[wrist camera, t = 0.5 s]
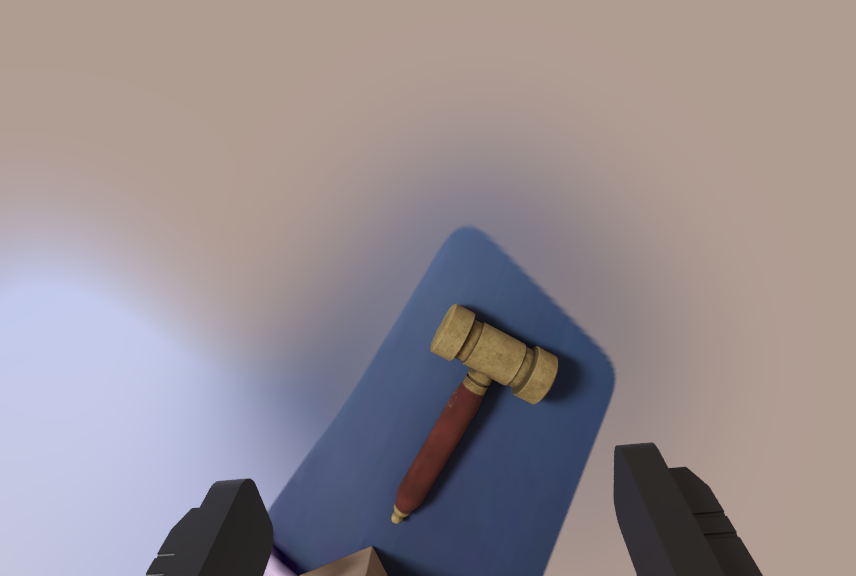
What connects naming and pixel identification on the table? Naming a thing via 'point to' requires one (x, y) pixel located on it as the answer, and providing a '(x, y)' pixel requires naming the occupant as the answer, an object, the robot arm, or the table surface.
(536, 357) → the gavel
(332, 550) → the table surface
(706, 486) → the robot arm
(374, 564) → the teal-capped wooden post
